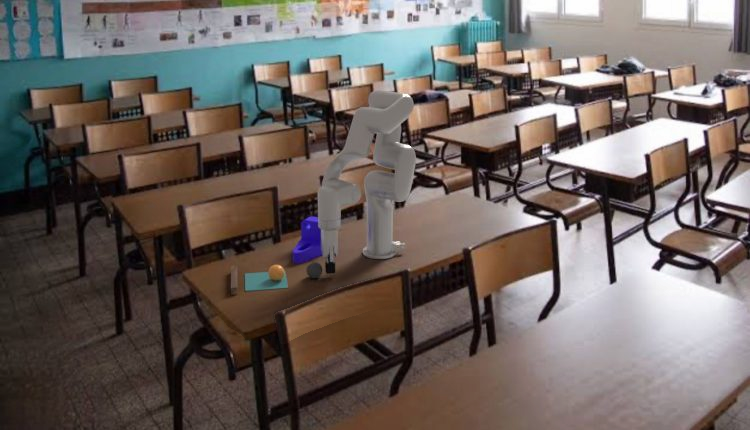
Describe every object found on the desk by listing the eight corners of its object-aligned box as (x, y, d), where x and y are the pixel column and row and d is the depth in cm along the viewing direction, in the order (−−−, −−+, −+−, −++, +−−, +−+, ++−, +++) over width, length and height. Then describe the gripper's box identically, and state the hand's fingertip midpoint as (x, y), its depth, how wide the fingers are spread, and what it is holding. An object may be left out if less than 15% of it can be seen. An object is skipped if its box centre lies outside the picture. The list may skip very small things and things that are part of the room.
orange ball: (272, 259, 246) (265, 273, 247) (273, 266, 241) (265, 280, 242) (286, 265, 248) (279, 279, 249) (287, 272, 243) (280, 285, 244)
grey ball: (307, 258, 248) (303, 272, 250) (309, 264, 243) (305, 279, 245) (323, 261, 250) (319, 275, 251) (325, 267, 245) (320, 282, 246)
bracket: (307, 244, 278) (307, 215, 274) (332, 249, 273) (332, 219, 269) (282, 261, 262) (281, 230, 258) (308, 266, 258) (307, 235, 254)
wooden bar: (237, 272, 252) (237, 265, 251) (237, 294, 235) (237, 287, 235) (231, 272, 252) (231, 266, 251) (231, 294, 235) (230, 287, 234)
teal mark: (285, 271, 253) (285, 270, 253) (288, 288, 240) (288, 287, 240) (244, 274, 251) (244, 273, 251) (245, 291, 238) (245, 290, 238)
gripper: (316, 215, 249) (317, 264, 255) (320, 230, 235) (321, 282, 241) (337, 214, 250) (338, 263, 256) (343, 229, 236) (344, 280, 242)
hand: (330, 272), depth 249 cm, fingers closed
